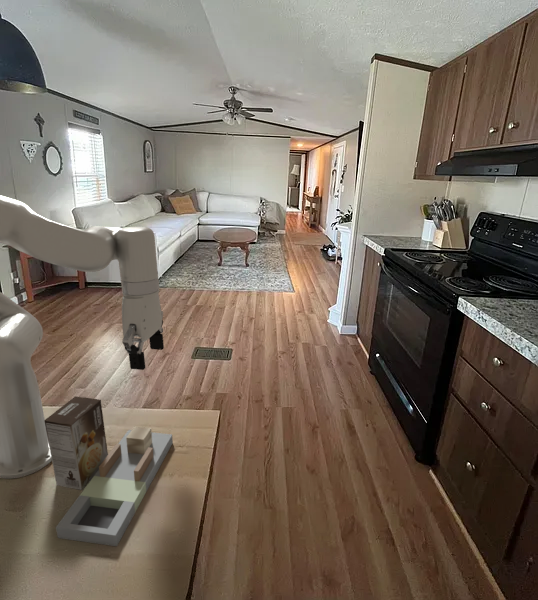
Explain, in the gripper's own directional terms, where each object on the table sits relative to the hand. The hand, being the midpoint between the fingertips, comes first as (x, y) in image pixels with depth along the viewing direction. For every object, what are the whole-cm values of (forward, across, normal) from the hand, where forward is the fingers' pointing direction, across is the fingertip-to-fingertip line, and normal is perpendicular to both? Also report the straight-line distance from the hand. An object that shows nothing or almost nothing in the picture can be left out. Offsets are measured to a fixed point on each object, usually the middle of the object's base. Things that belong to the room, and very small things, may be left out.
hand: (148, 358), depth 85 cm
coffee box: (+22, +13, -11) cm, 28 cm away
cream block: (+20, +6, -1) cm, 21 cm away
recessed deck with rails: (+22, +14, -1) cm, 26 cm away
